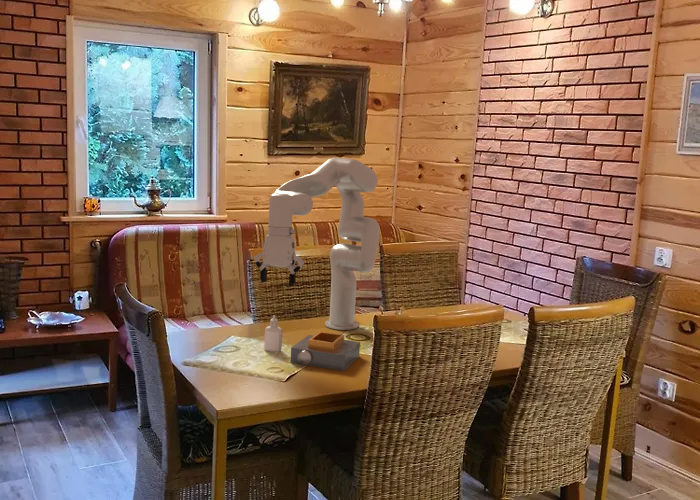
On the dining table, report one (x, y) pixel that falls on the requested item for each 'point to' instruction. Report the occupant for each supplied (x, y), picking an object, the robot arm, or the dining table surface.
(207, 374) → the dining table surface
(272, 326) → the eye dropper bottle
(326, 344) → the grey scale with tray
